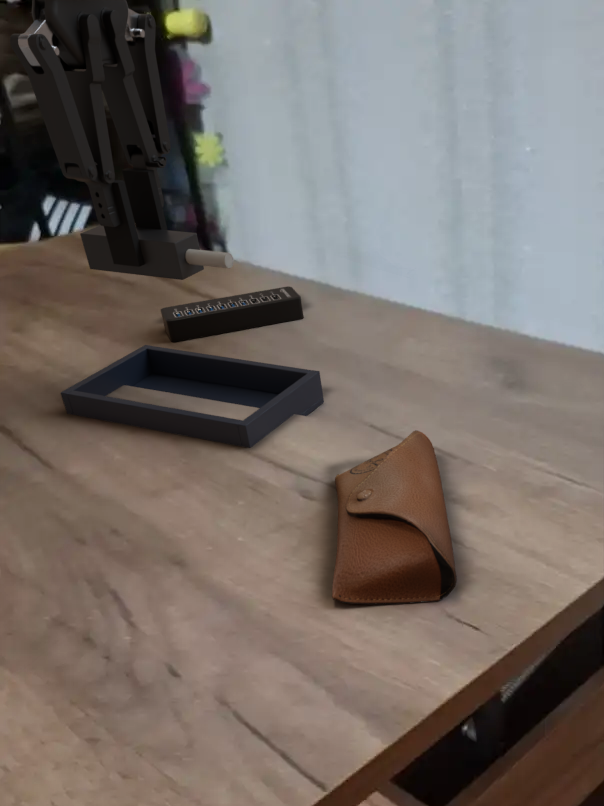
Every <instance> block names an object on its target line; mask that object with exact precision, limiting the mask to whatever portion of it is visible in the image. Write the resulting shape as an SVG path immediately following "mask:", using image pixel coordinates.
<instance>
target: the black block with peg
mask: <svg viewBox="0 0 604 806" xmlns="http://www.w3.org/2000/svg"><path fill="white" fill-rule="evenodd" d="M136 230H137V234H138V238H139V243H140V247H141V251H142V255H143V259H144V263H145V264H144V265H142V266H140V267H136V266H127V265H118V264H114V263H113V259H112V255H111V252H110V248H109V244H108V241H107V237H106V233H105V229H104V226H101V225H100V224H99V225H97V226H95V227H93V228H90V229H88V230H85V231H83V232H80V233H79V235H80V238H81V243H82V246H83V249H84V252H85V257H86V260H87V263H88V267H89V269H90V270H93V271H94V270H95V271H102V272H110V273H119V274H127V275H128V274H129V275H137V276H146V277H153V278H154V277H155V278H161V279H162V278H163V279H170V280H179V281H184V280H186V279H187V278H190V277H192V276H193V275H195V274H198V273H200V272H202V271H203V270H205V267H209V268H218V269H219V268H221V269H232V268H233V267H234V262H235V261H234V256H233V254H232V253H230V252H224V251H215V250H204V249H203V250H202V249H201V248H200V247H201V246H200V243H199V239H198V233H197V232H189V231H179V230H169V229H167V230H159V229H149V228H139V227H136Z"/></svg>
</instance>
